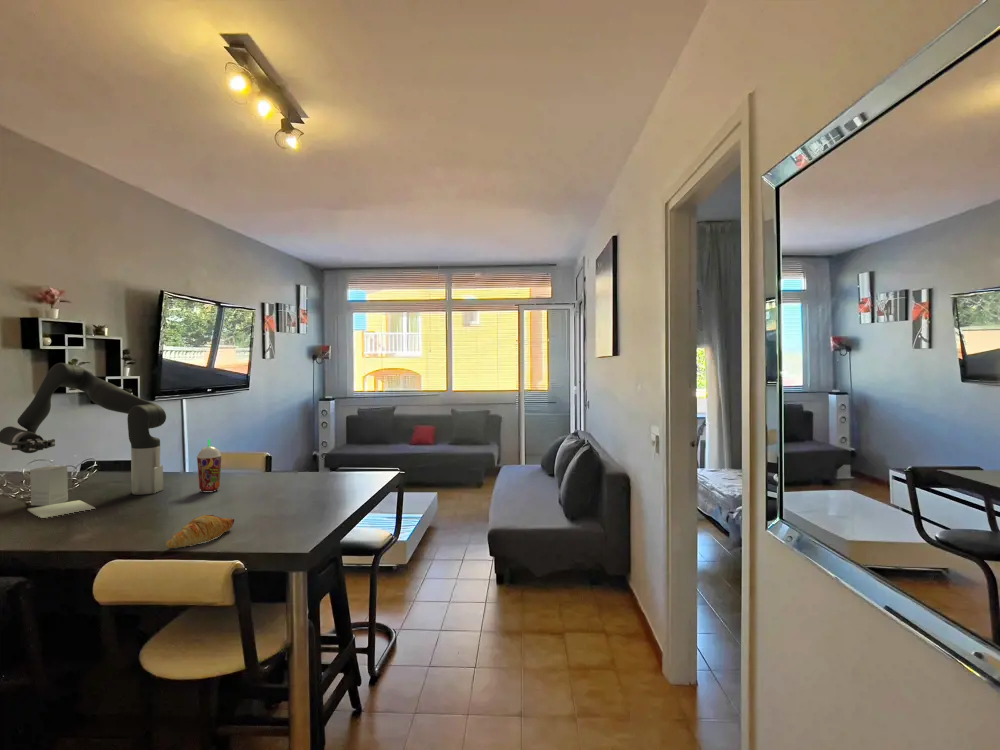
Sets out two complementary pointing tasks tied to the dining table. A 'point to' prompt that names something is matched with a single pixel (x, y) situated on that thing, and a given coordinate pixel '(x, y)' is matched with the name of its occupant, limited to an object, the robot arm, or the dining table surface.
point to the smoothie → (209, 468)
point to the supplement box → (49, 485)
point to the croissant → (200, 531)
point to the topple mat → (60, 509)
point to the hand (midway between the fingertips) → (40, 447)
